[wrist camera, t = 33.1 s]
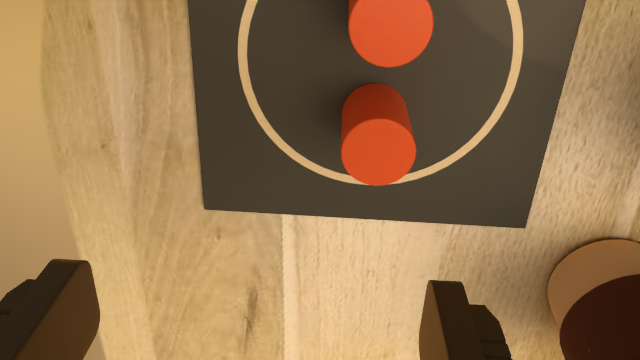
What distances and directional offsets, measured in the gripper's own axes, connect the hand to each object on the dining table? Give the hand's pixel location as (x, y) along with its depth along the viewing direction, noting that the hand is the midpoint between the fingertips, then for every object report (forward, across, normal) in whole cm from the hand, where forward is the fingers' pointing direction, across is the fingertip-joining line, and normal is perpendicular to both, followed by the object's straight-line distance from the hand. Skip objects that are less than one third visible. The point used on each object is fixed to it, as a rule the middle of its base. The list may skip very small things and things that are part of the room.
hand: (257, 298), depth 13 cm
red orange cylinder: (+18, -4, +2) cm, 19 cm away
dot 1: (+18, -4, -4) cm, 19 cm away
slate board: (+19, -4, 0) cm, 19 cm away
